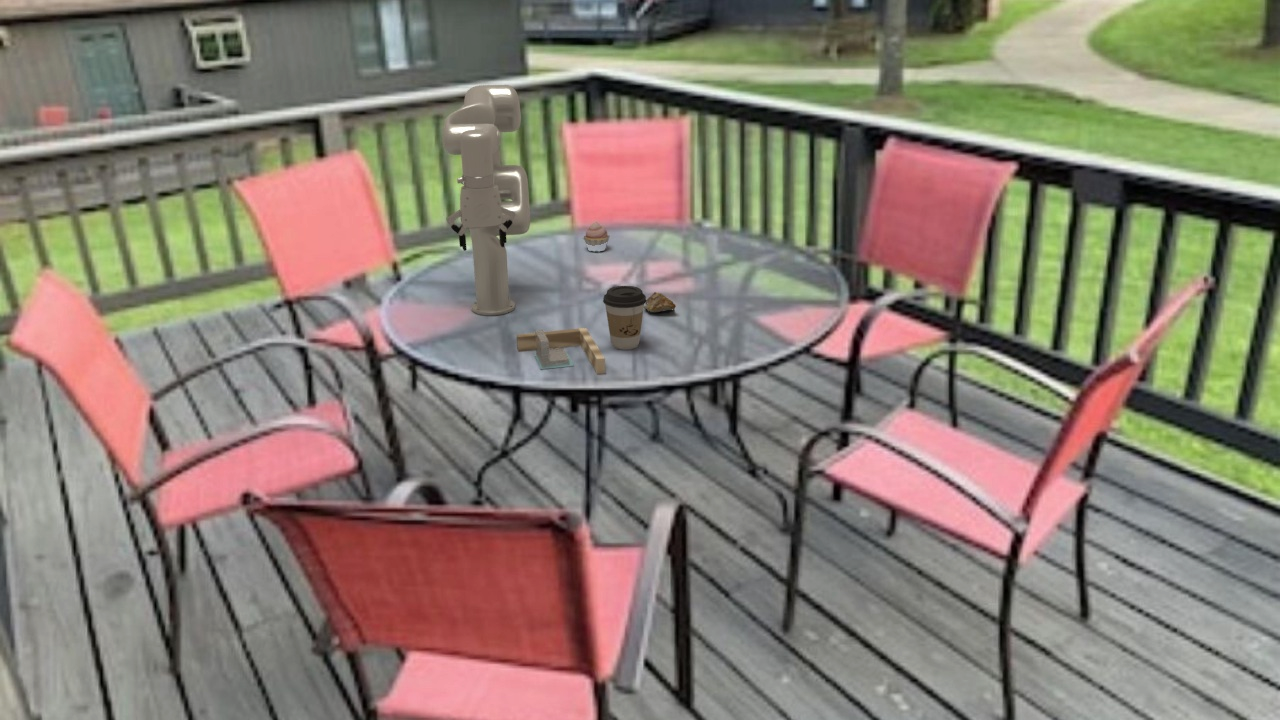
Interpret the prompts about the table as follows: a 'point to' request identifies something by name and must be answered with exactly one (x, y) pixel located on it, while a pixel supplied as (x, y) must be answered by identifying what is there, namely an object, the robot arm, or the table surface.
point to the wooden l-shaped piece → (567, 344)
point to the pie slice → (659, 303)
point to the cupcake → (596, 235)
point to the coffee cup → (624, 315)
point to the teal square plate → (556, 366)
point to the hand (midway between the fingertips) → (483, 247)
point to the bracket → (549, 352)
